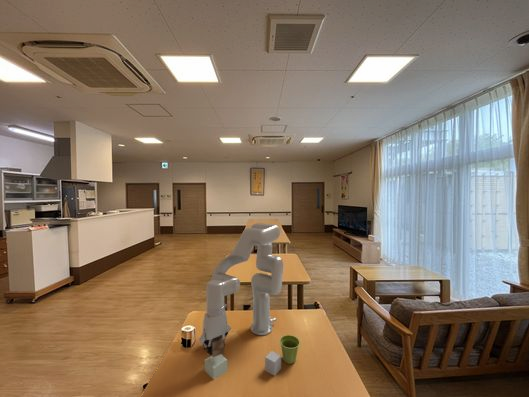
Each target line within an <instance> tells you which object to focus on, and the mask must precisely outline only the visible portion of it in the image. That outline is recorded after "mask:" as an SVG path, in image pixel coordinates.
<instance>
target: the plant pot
mask: <svg viewBox="0 0 529 397" xmlns="http://www.w3.org/2000/svg"><path fill="white" fill-rule="evenodd" d="M300 344H301V341H300V339H299V337H297V336H295V335H292V334H285V335H282V336H281V337H280V338H279V345H280V347H281V354H282V355H281V356H282V360H283V362H284V363H285V364H288V365H292V364H294V363H296V361H297V354H298V350H299V346H300Z"/></svg>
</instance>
